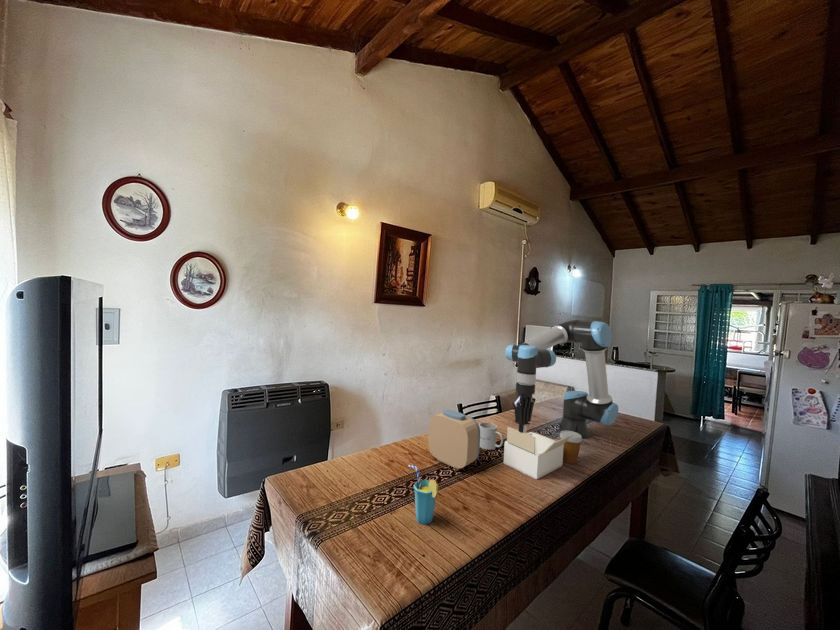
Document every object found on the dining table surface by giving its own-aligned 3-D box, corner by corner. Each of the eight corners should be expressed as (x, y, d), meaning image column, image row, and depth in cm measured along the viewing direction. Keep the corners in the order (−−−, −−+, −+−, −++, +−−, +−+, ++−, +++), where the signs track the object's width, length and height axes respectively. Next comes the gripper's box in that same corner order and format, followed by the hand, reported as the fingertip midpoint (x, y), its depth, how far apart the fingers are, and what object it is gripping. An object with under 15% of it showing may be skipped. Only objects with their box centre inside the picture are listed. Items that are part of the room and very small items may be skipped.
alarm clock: (479, 467, 139) (481, 416, 138) (465, 475, 132) (468, 422, 131) (441, 450, 153) (443, 404, 152) (427, 457, 146) (429, 408, 145)
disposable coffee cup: (583, 466, 144) (585, 439, 144) (560, 463, 146) (561, 436, 146) (577, 457, 154) (579, 431, 153) (555, 454, 155) (557, 429, 155)
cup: (398, 512, 107) (400, 466, 107) (415, 502, 113) (417, 459, 112) (430, 534, 97) (432, 484, 97) (447, 523, 103) (449, 475, 102)
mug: (474, 444, 162) (475, 424, 162) (485, 440, 167) (486, 421, 167) (494, 454, 152) (495, 432, 152) (505, 449, 158) (507, 429, 157)
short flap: (508, 426, 142) (507, 426, 142) (535, 437, 132) (534, 437, 132) (507, 441, 142) (506, 441, 142) (534, 452, 132) (533, 453, 132)
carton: (529, 451, 157) (530, 430, 157) (563, 465, 144) (564, 443, 144) (502, 462, 144) (503, 440, 144) (536, 479, 132) (538, 455, 131)
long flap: (572, 434, 138) (572, 435, 138) (561, 444, 142) (562, 444, 142) (552, 442, 129) (553, 443, 129) (542, 453, 132) (543, 453, 132)
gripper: (526, 379, 144) (523, 433, 145) (508, 382, 136) (504, 439, 137) (542, 383, 138) (538, 439, 139) (524, 387, 130) (520, 446, 131)
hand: (521, 439), depth 138 cm, fingers closed
